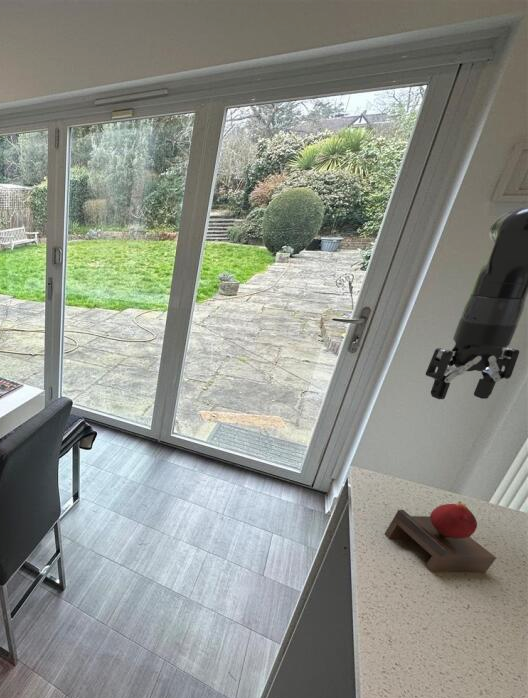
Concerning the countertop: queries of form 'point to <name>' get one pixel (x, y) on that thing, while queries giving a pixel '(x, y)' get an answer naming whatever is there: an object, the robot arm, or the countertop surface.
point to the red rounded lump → (453, 520)
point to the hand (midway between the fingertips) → (458, 397)
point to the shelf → (441, 545)
